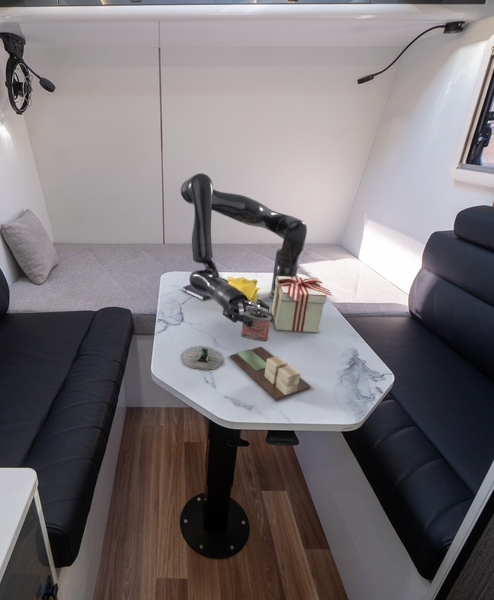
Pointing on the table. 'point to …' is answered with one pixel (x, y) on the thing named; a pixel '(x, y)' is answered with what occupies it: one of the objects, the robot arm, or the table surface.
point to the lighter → (257, 324)
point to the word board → (262, 372)
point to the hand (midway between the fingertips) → (262, 321)
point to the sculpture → (202, 358)
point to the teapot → (245, 287)
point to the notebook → (199, 295)
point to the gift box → (298, 303)
